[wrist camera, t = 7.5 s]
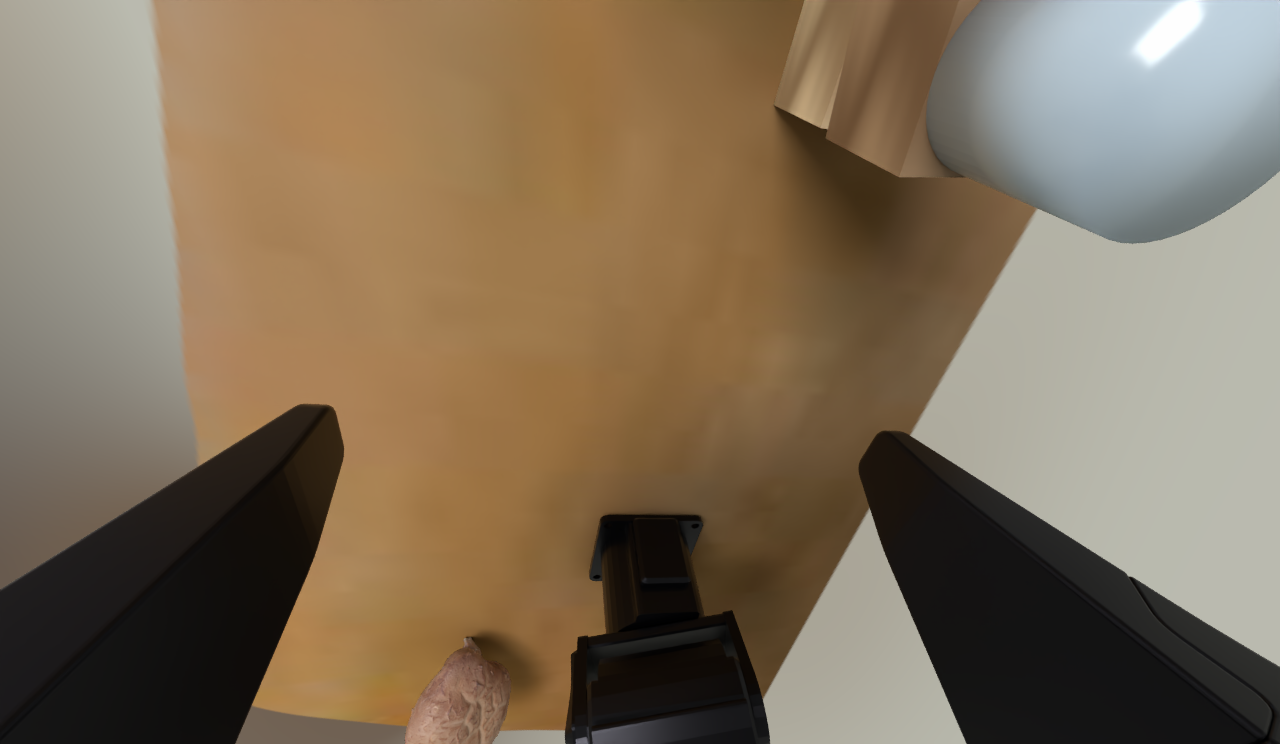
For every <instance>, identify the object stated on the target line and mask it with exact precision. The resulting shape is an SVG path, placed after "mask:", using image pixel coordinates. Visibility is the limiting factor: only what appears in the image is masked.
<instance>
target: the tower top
mask: <svg viewBox="0 0 1280 744" xmlns="http://www.w3.org/2000/svg"><path fill="white" fill-rule="evenodd" d="M980 1H981V0H859V2H858V6H857V10H856V14H855V18H854V22H853V26H852V31H851V35H850V39H849V43H848V47H847V51H846V55H845V60H844V64H843V68H842V72H841V76H840V80H839V85H838V89H837V93H836V97H835V101H834V105H833V109H832V114H831V118H830V122H829V126H828V130H827V134H826V138H825V139H827V140H829V141H831V142H833V143H835V144H837V145H839V146H841V147H843V148H844V149H846V150H848V151H850V152H852V153H854V154H856V155H858V156H860V157H862V158H863V159H865V160H867V161H869V162H871V163H873V164H875V165H877V166H879V167H881V168H882V169H884V170H886V171H888V172H890V173H892V174H894V175H896V176H898V177H965V176H963V175H960V174H958V173H956V172H954V171H952V170H950V169H949V168H947V167H946V166H945V165H943V163H942V162H941V161H940V160H939V159H938V158H937V156H936V155H935V153H934V151H933V149H932V147H931V144H930V141H929V138H928V133H927V124H926V111H927V101H928V96H929V91H930V87H931V84H932V80H933V77H934V74H935V71H936V69H937V66H938V64H939V61H940V59H941V57H942V55H943V53H944V51H945V49H946V47H947V45H948V44H949V42H950V40H951V39H952V37H953V36H954V34H955V32H956V31H957V29H958V28H959V27H960V25H961V24H962V23H963V21H964V20H965V18H966V17H967V16H968V15H969V14H970V12H971V11H972V10H973V9H974V8H975V7H976V6H977V4H978V3H979V2H980Z"/></svg>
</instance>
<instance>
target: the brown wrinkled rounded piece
mask: <svg viewBox="0 0 1280 744" xmlns="http://www.w3.org/2000/svg"><path fill="white" fill-rule="evenodd" d="M464 642H465V645H464V646H463V648H462V649H459V650H457V651H455V652H454V653H453V654H452V655H450V657H449V658H448V659H447V661H446V662H445V664H444V666H443V667H442V669H441V670H440V671H439V672H438V674H437V675H436V676H435V677H434V678H433V679H432V681H431V682H430V683H429V684H428V686H427V687H426V688H425V689H424V691H423V692H422V694H421V696H420V697H419V699H418V701H417V703H416V706H415V708H412V714H411V717H410V720H409V722H408V726H407V729H406V733H405V744H492V742H493V741H494V739H495V738H496V737H497V736H498V734H499V731H500V728H501V725H502V723H503V721H504V720H505V717H506V714H507V708H508V705H509V704H508V703H509V697H510V692H511V680H510V677H509V673H508V670H507V669H506V668H505V667H504V666H503V665H502V664H499V663H498V662H495V661H488V660H485V659H484V658H483V657H482V654H481V650H480V649H479V647H478V646H477V645H476V644H475V642H474V641H473V640H472V638H471V637H470V638H464Z"/></svg>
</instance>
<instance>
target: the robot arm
mask: <svg viewBox="0 0 1280 744" xmlns="http://www.w3.org/2000/svg"><path fill="white" fill-rule="evenodd" d="M343 457H344V445H343V440H342V436H341V432H340V428H339V424H338V419H337V415H336V412H335V410H334V408H333V407H331V406H329V405H320V404H300V405H297V406H295V407H293V408H292V409H290V410H288V411H287V412H285V413H284V414H282V415H280V416H279V417H277V418H276V419H274V420H272V421H271V422H269V423H268V424H266V425H264V426H263V427H261V428H259V429H258V430H256V431H255V432H253V433H251V434H250V435H248V436H247V437H245V438H243V439H242V440H240V441H239V442H237V443H235V444H234V445H232V446H231V447H229V448H227V449H226V450H224V451H222V452H221V453H219V454H218V455H216V456H214V457H213V458H211V459H210V460H208V461H206V462H205V463H203V464H202V465H200V466H198V467H197V468H195V469H194V470H192V471H190V472H189V473H187V474H186V475H184V476H182V477H181V478H179V479H177V480H176V481H174V482H173V483H171V484H169V485H168V486H166V487H165V488H163V489H161V490H160V491H158V492H156V493H155V494H153V495H152V496H150V497H148V498H147V499H145V500H144V501H142V502H140V503H139V504H137V505H136V506H134V507H132V508H131V509H129V510H128V511H126V512H124V513H123V514H121V515H119V516H118V517H117V518H115V519H113V520H111V521H110V522H108V523H107V524H105V525H103V526H102V527H100V528H99V529H97V530H95V531H94V532H92V533H90V534H89V535H87V536H86V537H84V538H83V539H81V540H79V541H78V542H76V543H74V544H73V545H71V546H70V547H68V548H66V549H65V550H63V551H62V552H60V553H58V554H57V555H55V556H53V557H52V558H50V559H49V560H47V561H46V562H44V563H42V564H41V565H39V566H37V567H36V568H34V569H33V570H31V571H29V572H28V573H26V574H25V575H23V576H21V577H20V578H18V579H16V580H15V581H13V582H12V583H10V584H8V585H7V586H5V587H4V588H2V589H0V744H235V743H236V741H237V738H238V736H239V734H240V732H241V729H242V727H243V725H244V722H245V720H246V717H247V715H248V713H249V711H250V708H251V706H252V703H253V701H254V699H255V696H256V694H257V692H258V689H259V687H260V685H261V682H262V680H263V678H264V675H265V673H266V671H267V668H268V666H269V664H270V661H271V659H272V657H273V654H274V652H275V650H276V647H277V645H278V643H279V640H280V638H281V635H282V633H283V631H284V628H285V626H286V624H287V621H288V619H289V617H290V614H291V612H292V610H293V607H294V605H295V603H296V600H297V598H298V596H299V593H300V591H301V589H302V586H303V584H304V582H305V579H306V577H307V575H308V572H309V570H310V567H311V564H312V562H313V559H314V557H315V554H316V551H317V547H318V544H319V541H320V538H321V534H322V531H323V527H324V524H325V521H326V517H327V514H328V510H329V507H330V503H331V500H332V496H333V493H334V490H335V486H336V483H337V479H338V476H339V472H340V469H341V466H342V462H343ZM859 475H860V479H861V482H862V485H863V488H864V491H865V494H866V497H867V501H868V504H869V507H870V510H871V513H872V516H873V519H874V522H875V526H876V529H877V532H878V535H879V538H880V541H881V544H882V547H883V549H884V552H885V555H886V557H887V559H888V562H889V564H890V567H891V569H892V571H893V574H894V576H895V578H896V581H897V583H898V585H899V588H900V590H901V592H902V594H903V597H904V599H905V602H906V604H907V606H908V609H909V611H910V613H911V616H912V618H913V620H914V622H915V625H916V627H917V630H918V632H919V634H920V636H921V639H922V641H923V644H924V646H925V648H926V651H927V653H928V655H929V657H930V660H931V662H932V664H933V667H934V669H935V671H936V674H937V676H938V678H939V680H940V683H941V685H942V688H943V690H944V692H945V695H946V697H947V699H948V702H949V704H950V706H951V709H952V711H953V713H954V716H955V718H956V720H957V723H958V725H959V727H960V730H961V732H962V734H963V736H964V738H965V741H966V743H967V744H1280V667H1279V666H1277V665H1276V664H1274V663H1272V662H1271V661H1269V660H1267V659H1265V658H1264V657H1262V656H1260V655H1259V654H1257V653H1255V652H1254V651H1252V650H1250V649H1249V648H1247V647H1245V646H1244V645H1242V644H1240V643H1238V642H1237V641H1235V640H1233V639H1232V638H1230V637H1228V636H1227V635H1225V634H1223V633H1222V632H1220V631H1218V630H1217V629H1215V628H1213V627H1212V626H1210V625H1208V624H1207V623H1205V622H1203V621H1202V620H1200V619H1199V618H1197V617H1195V616H1194V615H1192V614H1190V613H1189V612H1187V611H1185V610H1184V609H1182V608H1181V607H1179V606H1177V605H1176V604H1174V603H1173V602H1171V601H1170V600H1168V599H1166V598H1165V597H1163V596H1162V595H1160V594H1158V593H1157V592H1155V591H1154V590H1152V589H1150V588H1149V587H1147V586H1146V585H1144V584H1143V583H1141V582H1140V581H1138V580H1136V579H1135V578H1133V577H1128V576H1127V574H1126V573H1125V572H1124V571H1122V570H1120V569H1119V568H1117V567H1116V566H1114V565H1113V564H1111V563H1109V562H1108V561H1106V560H1105V559H1103V558H1101V557H1100V556H1098V555H1097V554H1095V553H1094V552H1092V551H1090V550H1089V549H1087V548H1086V547H1084V546H1083V545H1081V544H1080V543H1078V542H1076V541H1075V540H1073V539H1072V538H1070V537H1069V536H1067V535H1065V534H1064V533H1062V532H1061V531H1059V530H1057V529H1056V528H1054V527H1053V526H1051V525H1050V524H1048V523H1047V522H1045V521H1043V520H1042V519H1040V518H1039V517H1037V516H1035V515H1034V514H1032V513H1031V512H1029V511H1027V510H1026V509H1025V508H1023V507H1021V506H1020V505H1018V504H1017V503H1015V502H1013V501H1012V500H1010V499H1009V498H1007V497H1006V496H1004V495H1002V494H1001V493H999V492H998V491H996V490H994V489H993V488H991V487H990V486H988V485H987V484H985V483H984V482H982V481H980V480H979V479H977V478H976V477H974V476H973V475H971V474H969V473H968V472H966V471H965V470H963V469H962V468H960V467H958V466H957V465H955V464H954V463H952V462H951V461H949V460H947V459H946V458H944V457H943V456H941V455H940V454H938V453H936V452H935V451H933V450H931V449H930V448H929V447H927V446H925V445H924V444H922V443H921V442H919V441H918V440H916V439H914V438H913V437H911V436H910V435H908V434H906V433H904V432H901V431H881V432H879V433H878V434H877V435H876V436H875V438H874V439H873V441H872V442H871V444H870V446H869V447H868V449H867V450H866V452H865V454H864V455H863V457H862V458H861V460H860V463H859ZM702 527H703V523H702V519H701V517H699V516H662V515H607V516H603V517H602V518H601V519H600V522H599V527H598V531H597V536H596V541H595V546H594V551H593V556H592V561H591V565H590V570H589V576H590V579H591V580H593V581H602V585H603V599H604V613H605V627H606V634H603V635H597V636H591V637H588V635H587V636H581V637H578V642H577V650H576V651H575V652H574V653H572V654H571V693H570V700H569V707H568V714H567V721H566V729H565V743H566V744H770V736H769V729H768V723H767V717H766V713H765V708H764V703H763V699H762V695H761V692H760V688H759V685H758V681H757V678H756V675H755V672H754V670H753V667H752V664H751V661H750V659H749V656H748V653H747V650H746V647H745V645H744V642H743V639H742V636H741V633H740V631H739V628H738V625H737V622H736V619H735V617H734V614H733V611H732V610H731V611H725V612H723V614H718V615H712V616H706V617H705V616H704V611H703V607H702V603H701V598H700V594H699V590H698V586H697V581H696V577H695V573H694V568H693V564H692V560H691V554H692V552H693V549H694V547H695V544H696V542H697V539H698V537H699V534H700V532H701V529H702Z"/></svg>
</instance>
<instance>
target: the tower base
mask: <svg viewBox="0 0 1280 744" xmlns="http://www.w3.org/2000/svg"><path fill="white" fill-rule="evenodd" d="M858 2H859V0H805V1H804V4H803V7H802V11H801V14H800V17H799V21H798V24H797V28H796V31H795V34H794V38H793V41H792V44H791V48H790V51H789V55H788V58H787V61H786V65H785V68H784V71H783V75H782V78H781V82H780V85H779V88H778V92H777V95H776V98H775V102H774V105H775V106H777V107H779V108H781V109H783V110H785V111H787V112H789V113H791V114H793V115H795V116H797V117H799V118H801V119H803V120H805V121H807V122H809V123H811V124H813V125H815V126H817V127H819V128H823V129H828V126H829V122H830V118H831V114H832V109H833V105H834V101H835V97H836V93H837V89H838V85H839V80H840V76H841V72H842V68H843V64H844V60H845V55H846V51H847V47H848V43H849V39H850V35H851V31H852V26H853V22H854V18H855V14H856V10H857V6H858Z"/></svg>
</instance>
